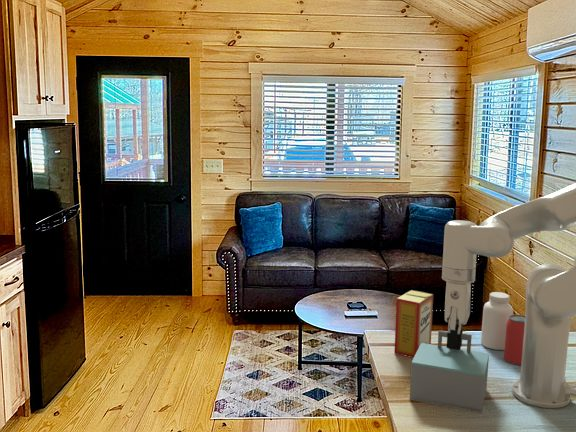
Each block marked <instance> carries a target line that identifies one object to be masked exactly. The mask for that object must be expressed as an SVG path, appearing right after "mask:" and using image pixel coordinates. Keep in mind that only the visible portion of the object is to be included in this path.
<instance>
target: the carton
mask: <svg viewBox="0 0 576 432" xmlns="http://www.w3.org/2000/svg"><path fill="white" fill-rule="evenodd" d="M489 361H490V357H489V358H488V363H487V367H486V372H485V376H484V377H482V376H476V375H470V374H464V373H459V372H453V371H447V370H441V369H435V368H429V367H423V366H417V365H411V364H410V366H411V367H410V387H409V388H410V389H409V400H411V401H416V402H420V403H426V404H431V405H437V406H441V407H442V406H443V407H447V408H452V409H457V410H462V411H468V412H472V413H473V412H474V413H478V414H483V409H484V404H485V400H486V394H487V387H488V375H489Z"/></svg>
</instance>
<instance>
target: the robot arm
mask: <svg viewBox="0 0 576 432" xmlns="http://www.w3.org/2000/svg"><path fill="white" fill-rule="evenodd" d="M575 226H576V182H575V183H573V184H570V185H568V186H565V187H564V188H561V189H559V190H557V191H554V192H552V193H550V194H547V195H545V196H544V195H543V196H541V197H537V198H535V199H533V200H530V201H527V202H524V203H519V204H517V205H515V206H513V207H510V208H508V209H506V210H503V211H500V212H498V213H496V214H494V215H492V216H490V217H488V218H486V219H485V220H484V221H482V222H481V223H480V224H479V225H477V224H476V223H475V222H473V221H469V220H463V219H462V220H461V219H460V220H459V219H456V220H455V219H454V220H450V221H447V223H446V224H445V225H444V232H443V233H444V235H443V248H442V249H443V253H442V269H441V271H442V272H441V279H442V280H443V281H445V282H446V283H445V284H446V286H445V297H444V298H445V300H444V321H445V322H446V323H448V325H447V327H448V328H447V337H446V347H447V348H448V349H455V350H460V349H462V348H461V347H462V345H463V340H461V334H464V333H463V326H465V325H467V322H468V320H469V318H470V314H471V292H472V290H471V289H472V288H471V287H472V283H475V282H476V268H477V255H479V256H483V257H487V258H494V259H495V258H496V259H497V258H503V257H506V256H507V255H509V254H510V253H511V252H512V251H513V249H514V246H515V240H518V239H520V238H522V237H525V236H528V235H531V234H533V233H538V232H559V231H566V230H569V229H570V228H572V227H575ZM525 284H526V285H525V315H524V316H525V328H524V338H523V350H522V362H521V365H520V376H519V380H518V381H515V383H513V384H512V387H511V388H512V390H511V391H512V394H513V395H514V396H515V397H516V398H517V399H518V400H520V401H522V402H523V403H526V404H527V405H531V406H534V407H539V408H543V409H544V408H545V409H560V408H563V407H567V406H568V405H569V404H570V402H571V397H576V384H571V383H569V382H567V379H566V368H567V359H568V350H569V347H568V346H569V339H570V328H571V318H573V317H575V316H576V255H575V256H574V259H573V267H570V268H569V269H567V270H566V269H565V268H563V267H562V266H560V265H558V264H554V263H542V264H540V265H537V266H536V267H534V268H533V269H532V271H531V272H530V273H529V275H528V277H527V280H526V283H525ZM460 333H461V334H460Z"/></svg>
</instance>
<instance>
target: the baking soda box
mask: <svg viewBox="0 0 576 432" xmlns="http://www.w3.org/2000/svg"><path fill="white" fill-rule="evenodd" d="M433 306H434V294H433V293H428V292H424V291H418V290H413V289H411V290H409V291H407V292H405V293H404V294H402V295H400V296H398V297H397V298H396V308H395V331H394V333H395V334H394V354H397V353H398V355H400V354H402V355H401V356H404V355H406V356H405V357H408V356H410V357H409V358H412V357H413V358H414V356H415V354H416V352H417V350H418V349H419V347H420V345H421V343H426V344H432V327H433V311H434V310H433V308H434V307H433ZM413 358H412V359H413Z"/></svg>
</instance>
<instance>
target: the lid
mask: <svg viewBox="0 0 576 432" xmlns="http://www.w3.org/2000/svg"><path fill="white" fill-rule="evenodd" d="M447 332H448V330H447V331H446V330H438V332H437V333H438V334H437V335H438V337H437V344H432V343H431V344H426V343H421V345H420V347H419V349H418V350H417V352H416V354H415V356H414V358H412V360H411V364H410V366H411V365H417V366H423V367H429V368H435V369H441V370H447V371H453V372H459V373H464V374H470V375H476V376H482V377H484V376H485V372H486V367H487V363H488V364H489V362H488V358H489V359H490V353H488V352H484V351H476V350H472V338H473V337H472V336H473V334H467V333H462V334H461V333H460V334H461V340H462V341H467V342H466V348H465V349H464V348H460V350H455V349H448V348H447V346H446V345H445V346H444V345H442V344H443V338H447Z"/></svg>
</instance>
